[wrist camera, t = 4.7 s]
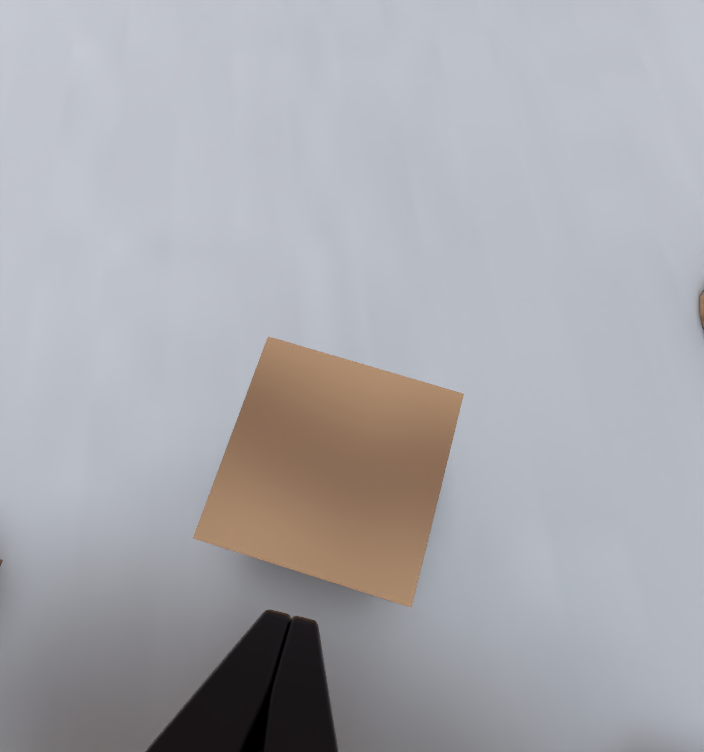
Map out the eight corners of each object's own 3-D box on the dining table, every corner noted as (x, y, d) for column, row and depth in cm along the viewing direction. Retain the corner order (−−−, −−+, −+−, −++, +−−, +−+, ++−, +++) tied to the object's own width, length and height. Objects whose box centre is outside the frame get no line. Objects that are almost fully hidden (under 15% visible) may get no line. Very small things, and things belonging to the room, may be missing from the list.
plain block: (380, 584, 19) (411, 607, 12) (247, 542, 20) (192, 538, 12) (416, 450, 21) (463, 394, 13) (291, 412, 21) (268, 336, 14)
